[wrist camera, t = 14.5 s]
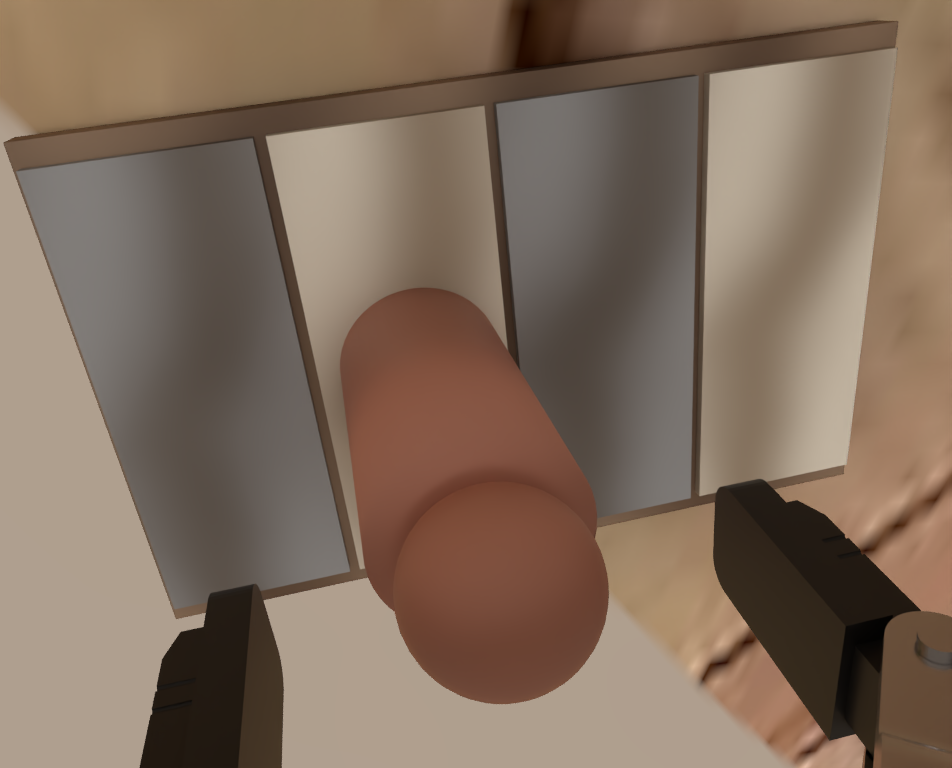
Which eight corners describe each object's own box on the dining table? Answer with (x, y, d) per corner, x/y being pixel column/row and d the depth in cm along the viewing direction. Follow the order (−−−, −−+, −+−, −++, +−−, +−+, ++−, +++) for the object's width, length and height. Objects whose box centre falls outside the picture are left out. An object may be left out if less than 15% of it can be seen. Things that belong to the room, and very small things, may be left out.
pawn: (492, 274, 21) (667, 516, 11) (507, 419, 23) (666, 734, 13) (325, 303, 20) (355, 585, 11) (355, 449, 22) (404, 802, 13)
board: (878, 20, 21) (906, 21, 20) (829, 461, 28) (849, 478, 27) (14, 137, 18) (-2, 144, 17) (179, 601, 25) (174, 626, 24)
